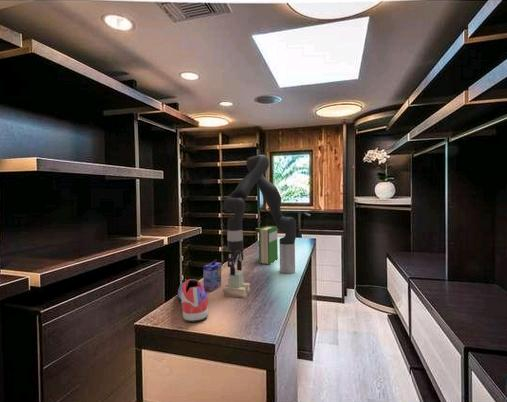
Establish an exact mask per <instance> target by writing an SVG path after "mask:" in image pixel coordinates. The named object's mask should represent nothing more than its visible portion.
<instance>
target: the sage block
mask: <svg viewBox="0 0 507 402" xmlns="http://www.w3.org/2000/svg"><path fill="white" fill-rule="evenodd" d="M243 277H244V273H243V271H235V275H234V276H233V275H230V273H229V274H228V279H229V287H240V286H242V285H243Z"/></svg>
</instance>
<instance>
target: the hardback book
mask: <svg viewBox="0 0 507 402" xmlns="http://www.w3.org/2000/svg"><path fill="white" fill-rule="evenodd" d="M278 248H279V247H278V229H277V227H276V225H266V226H263V227H260V228H258V264H259V265H262V264H267V265H268V266H270V265H272V264H273V263H275V262H276V261H278V260H277V259H279V257H278V256H279V255H278V254H279V253H278ZM275 260H276V261H275ZM274 261H275V262H274ZM261 263H262V264H261ZM271 263H272V264H271Z"/></svg>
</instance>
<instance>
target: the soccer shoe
mask: <svg viewBox="0 0 507 402" xmlns="http://www.w3.org/2000/svg"><path fill="white" fill-rule="evenodd" d="M177 299H178V301H179V303H181V308H182V318H183V320H184V321H185V322H187V323H189V322H191V323H192V322H194V323H195V322H198V321H199V322H200V321H205V320H207V317H208V316H209V307H208V305H209V302H208V297H207V292H206V290H204V287H203V284H202V282H201V281H199V280H197V279H194V278H192V279H191V278H190V279H187V280H185V281H184V282H182V283H181V284H180V285H179V287H178V289H177Z"/></svg>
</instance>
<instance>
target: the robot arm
mask: <svg viewBox="0 0 507 402" xmlns="http://www.w3.org/2000/svg"><path fill="white" fill-rule="evenodd" d="M269 166H270V161H269V158H268V157H267V156H266V155H265V154H260V155H255V156H254V155H253V156H250V157H248V158H247V159H246V168H247V170H248V172H249V173H248V174H247V175H245V177H243V178H242V179H241V180H240V181H239V183H238V184H237V186H236V188H235V190H233V191H232V192H231V193H230V194H229V195H227V196H226V198H225V199H224V201H223V210H224V211H225V212H227V213H234V215H233V216H232V217H229V218H228V219H227V235H226V236H227V237H226V239H227V250H229V251H230V253H228V254H227V267H228V268H229V269H230V270H229V272H230V273H229V274H230V275H233V276H234V275H235V272H236V270H237V271H238V272H242V270H243V266H242V265H243V264H242V263H243V261H244V233H243V219H244V214H245V211H246V202H245V200H246V199H247V198H248V197H249V195H250V193H251V192H252V190H253V188H254V187H255V185H256V186H257V187H258V189H259V190H260V193H261V195H262V197H263V199H264V201H265V203H266V205H267V206H268V209H269V211H270V214H271V216H272V218H273V221H274V225H275V226H276V227H277V231H279V232H283V233H285V234H284V236H283V237H279V242H278V243H279V272H280V273H281V274H294V273H296V246H295V245H296V237H297V220H296V219H295V218H294V217H292V216H285V215H284V214H283V213H282V210H281V206H282V197H281V194H280V192H279V190H278V188H277V186H276V185H275V184H273V183H272V182H271V181H269V180H268V179H267V178H266V177H265V176H264V174H265V173H266V172H267V171H268V169H269Z"/></svg>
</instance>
